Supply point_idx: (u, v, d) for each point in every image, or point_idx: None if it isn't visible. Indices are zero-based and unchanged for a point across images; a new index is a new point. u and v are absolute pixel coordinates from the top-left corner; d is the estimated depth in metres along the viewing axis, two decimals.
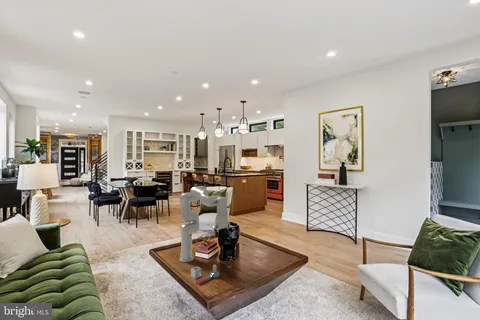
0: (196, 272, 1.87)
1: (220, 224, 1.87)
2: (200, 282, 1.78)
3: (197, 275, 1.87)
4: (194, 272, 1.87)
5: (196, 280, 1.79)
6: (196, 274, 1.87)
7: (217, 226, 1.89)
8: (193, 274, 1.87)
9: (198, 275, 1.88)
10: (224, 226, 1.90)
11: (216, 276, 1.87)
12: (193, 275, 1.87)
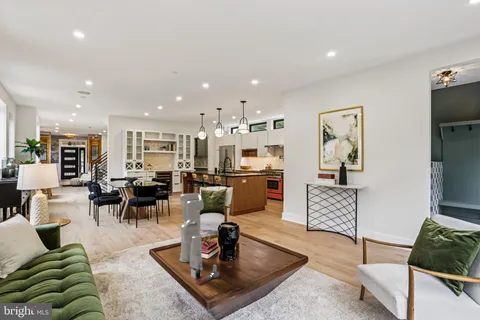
0: (196, 272, 1.87)
1: None
2: (200, 282, 1.78)
3: None
4: (194, 272, 1.87)
5: (196, 280, 1.79)
6: (196, 274, 1.87)
7: None
8: (193, 274, 1.87)
9: None
10: None
11: (216, 276, 1.87)
12: (193, 275, 1.87)
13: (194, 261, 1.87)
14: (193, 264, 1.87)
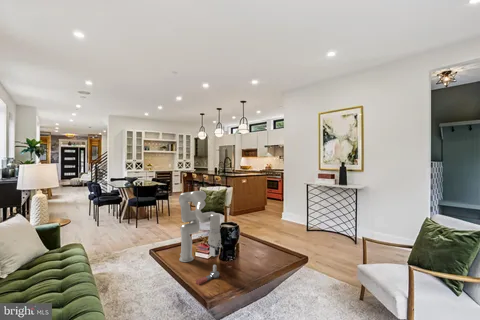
0: (215, 250, 1.87)
1: None
2: (200, 282, 1.78)
3: (215, 252, 1.87)
4: (213, 250, 1.87)
5: (196, 280, 1.79)
6: (215, 252, 1.87)
7: None
8: (212, 252, 1.88)
9: None
10: None
11: (216, 276, 1.87)
12: (212, 253, 1.88)
13: (213, 239, 1.87)
14: (212, 242, 1.88)
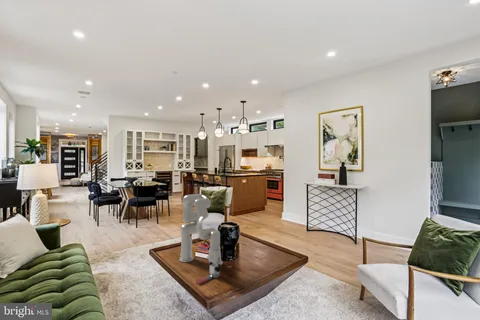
0: (215, 269, 1.87)
1: None
2: (200, 282, 1.78)
3: (215, 271, 1.88)
4: (213, 268, 1.87)
5: (196, 280, 1.79)
6: (215, 270, 1.87)
7: None
8: (212, 271, 1.88)
9: (217, 272, 1.89)
10: None
11: (216, 276, 1.87)
12: (212, 272, 1.88)
13: (213, 256, 1.87)
14: (212, 259, 1.88)
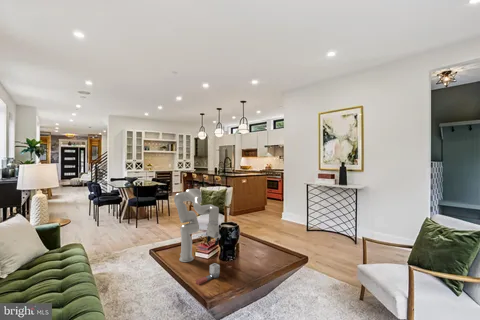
0: (215, 269, 1.87)
1: None
2: (200, 282, 1.78)
3: (215, 271, 1.88)
4: (213, 268, 1.87)
5: (196, 280, 1.79)
6: (215, 270, 1.87)
7: None
8: (212, 271, 1.88)
9: (217, 272, 1.89)
10: None
11: (216, 276, 1.87)
12: (212, 272, 1.88)
13: (211, 230, 1.95)
14: (210, 233, 1.96)
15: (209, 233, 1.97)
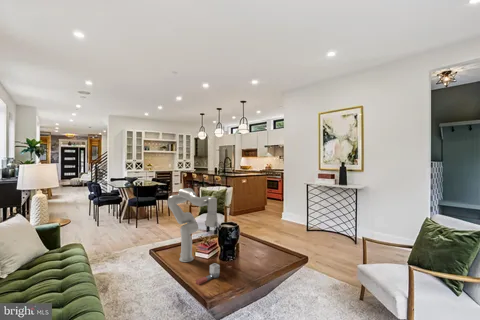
0: (215, 269, 1.87)
1: None
2: (200, 282, 1.78)
3: (215, 271, 1.88)
4: (213, 268, 1.87)
5: (196, 280, 1.79)
6: (215, 270, 1.87)
7: None
8: (212, 271, 1.88)
9: (217, 272, 1.89)
10: None
11: (216, 276, 1.87)
12: (212, 272, 1.88)
13: (210, 220, 2.03)
14: (209, 223, 2.04)
15: (208, 223, 2.05)
